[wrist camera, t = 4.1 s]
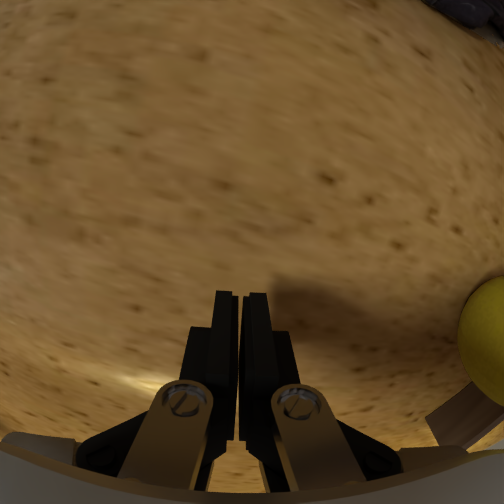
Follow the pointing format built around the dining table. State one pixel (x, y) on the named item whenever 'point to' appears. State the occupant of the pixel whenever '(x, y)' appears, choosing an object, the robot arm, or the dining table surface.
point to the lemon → (484, 338)
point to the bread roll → (476, 16)
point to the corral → (465, 418)
